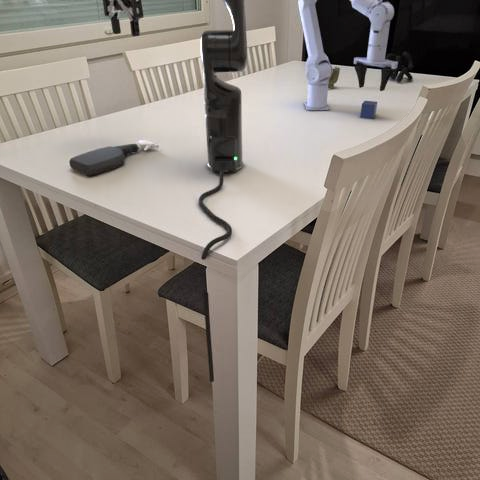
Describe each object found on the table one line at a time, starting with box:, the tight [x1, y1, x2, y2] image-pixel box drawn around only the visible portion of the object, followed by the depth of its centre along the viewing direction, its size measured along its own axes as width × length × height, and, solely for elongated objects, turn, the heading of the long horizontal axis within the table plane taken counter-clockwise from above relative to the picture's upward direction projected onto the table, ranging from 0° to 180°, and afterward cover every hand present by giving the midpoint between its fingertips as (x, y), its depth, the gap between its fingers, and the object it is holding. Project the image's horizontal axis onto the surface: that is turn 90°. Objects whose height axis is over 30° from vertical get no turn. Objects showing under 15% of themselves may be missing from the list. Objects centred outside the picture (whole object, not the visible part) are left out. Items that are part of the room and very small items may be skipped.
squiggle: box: [385, 51, 414, 83], centre depth 198 cm, size 11×10×15 cm
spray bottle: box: [68, 139, 160, 177], centre depth 124 cm, size 3×11×24 cm
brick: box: [359, 100, 378, 120], centre depth 154 cm, size 4×5×5 cm
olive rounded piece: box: [328, 66, 341, 89], centre depth 188 cm, size 8×7×8 cm
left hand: (126, 34), depth 124 cm, fingers open, 8 cm apart
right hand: (371, 88), depth 150 cm, fingers open, 7 cm apart
